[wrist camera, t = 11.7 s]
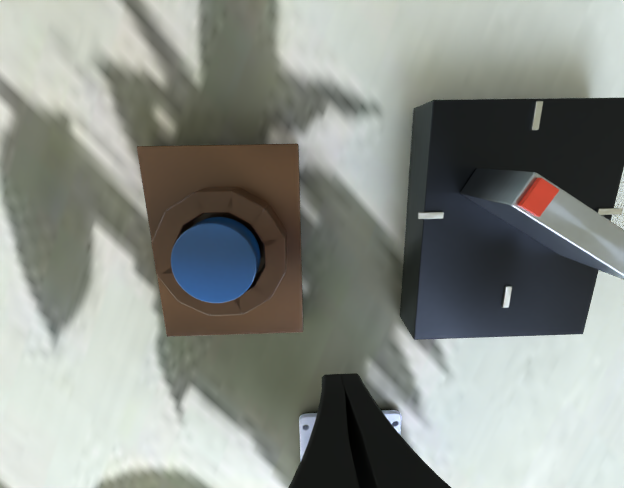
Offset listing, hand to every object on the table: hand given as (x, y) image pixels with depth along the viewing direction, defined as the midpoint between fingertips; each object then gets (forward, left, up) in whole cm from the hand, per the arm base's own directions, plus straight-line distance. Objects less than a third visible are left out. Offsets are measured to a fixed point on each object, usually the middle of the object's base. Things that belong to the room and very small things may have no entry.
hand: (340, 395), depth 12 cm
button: (+3, +6, -7) cm, 10 cm away
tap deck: (+4, -11, -10) cm, 16 cm away
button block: (+3, +6, -10) cm, 12 cm away
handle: (+5, -11, -7) cm, 14 cm away
